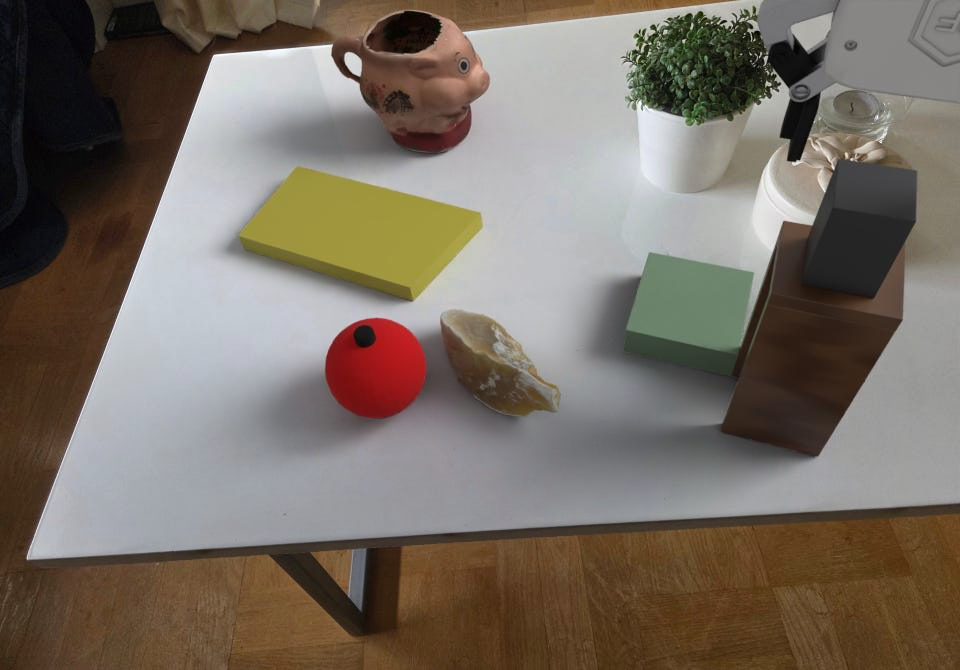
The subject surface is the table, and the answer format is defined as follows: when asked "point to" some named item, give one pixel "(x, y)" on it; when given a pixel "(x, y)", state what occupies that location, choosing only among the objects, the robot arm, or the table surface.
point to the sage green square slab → (689, 313)
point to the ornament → (375, 368)
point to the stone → (494, 365)
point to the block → (860, 227)
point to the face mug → (417, 77)
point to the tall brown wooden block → (807, 350)
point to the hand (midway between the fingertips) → (883, 160)
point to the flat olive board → (360, 232)
